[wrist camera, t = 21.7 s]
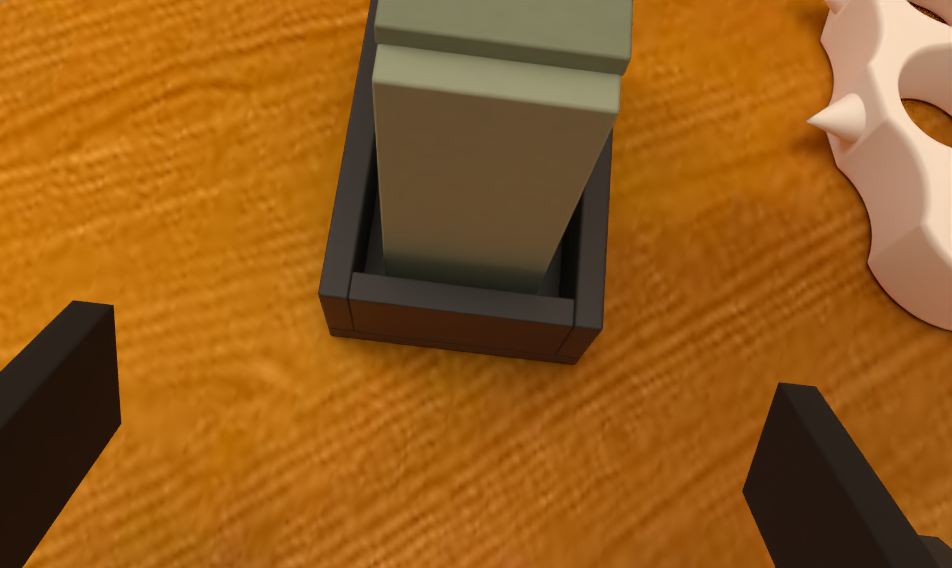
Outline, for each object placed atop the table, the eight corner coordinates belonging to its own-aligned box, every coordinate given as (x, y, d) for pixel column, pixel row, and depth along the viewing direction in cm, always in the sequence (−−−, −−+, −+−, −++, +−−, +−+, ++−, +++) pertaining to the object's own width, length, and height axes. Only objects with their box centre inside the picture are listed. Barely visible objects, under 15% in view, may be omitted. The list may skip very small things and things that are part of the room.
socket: (329, 335, 25) (317, 295, 22) (381, 34, 29) (378, -43, 25) (575, 365, 25) (603, 330, 22) (594, 63, 29) (620, -9, 26)
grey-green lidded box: (383, 287, 25) (367, 63, 14) (415, 65, 28) (421, -264, 17) (533, 304, 25) (630, 97, 14) (550, 82, 28) (642, -232, 17)
